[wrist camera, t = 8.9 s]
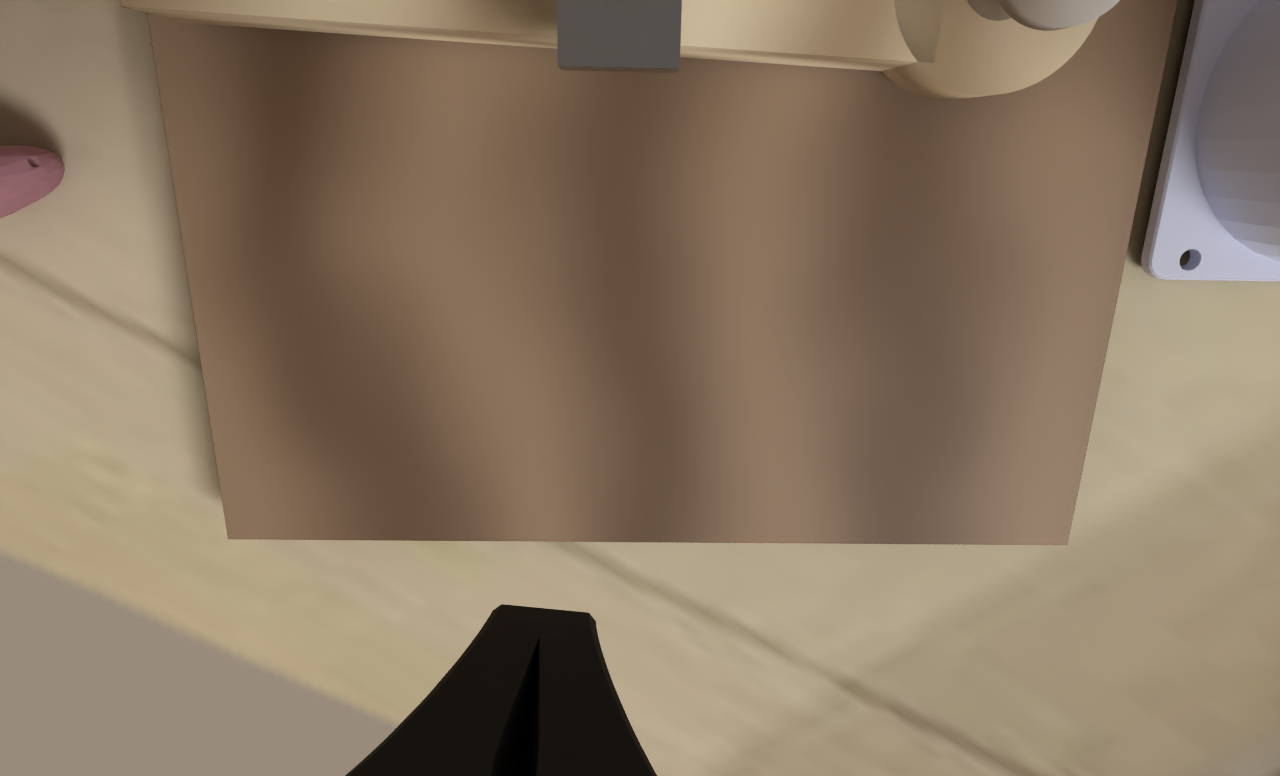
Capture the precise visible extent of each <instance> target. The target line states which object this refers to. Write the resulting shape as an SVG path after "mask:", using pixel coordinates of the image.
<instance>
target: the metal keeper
mask: <svg viewBox="0 0 1280 776" xmlns="http://www.w3.org/2000/svg"><path fill="white" fill-rule="evenodd" d="M681 13H682V0H557V51H558V67H559V68H560V69H561V70H562V71H607V72H653V73H676V72H677V71H678V70H679V69H680V44H681Z"/></svg>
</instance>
